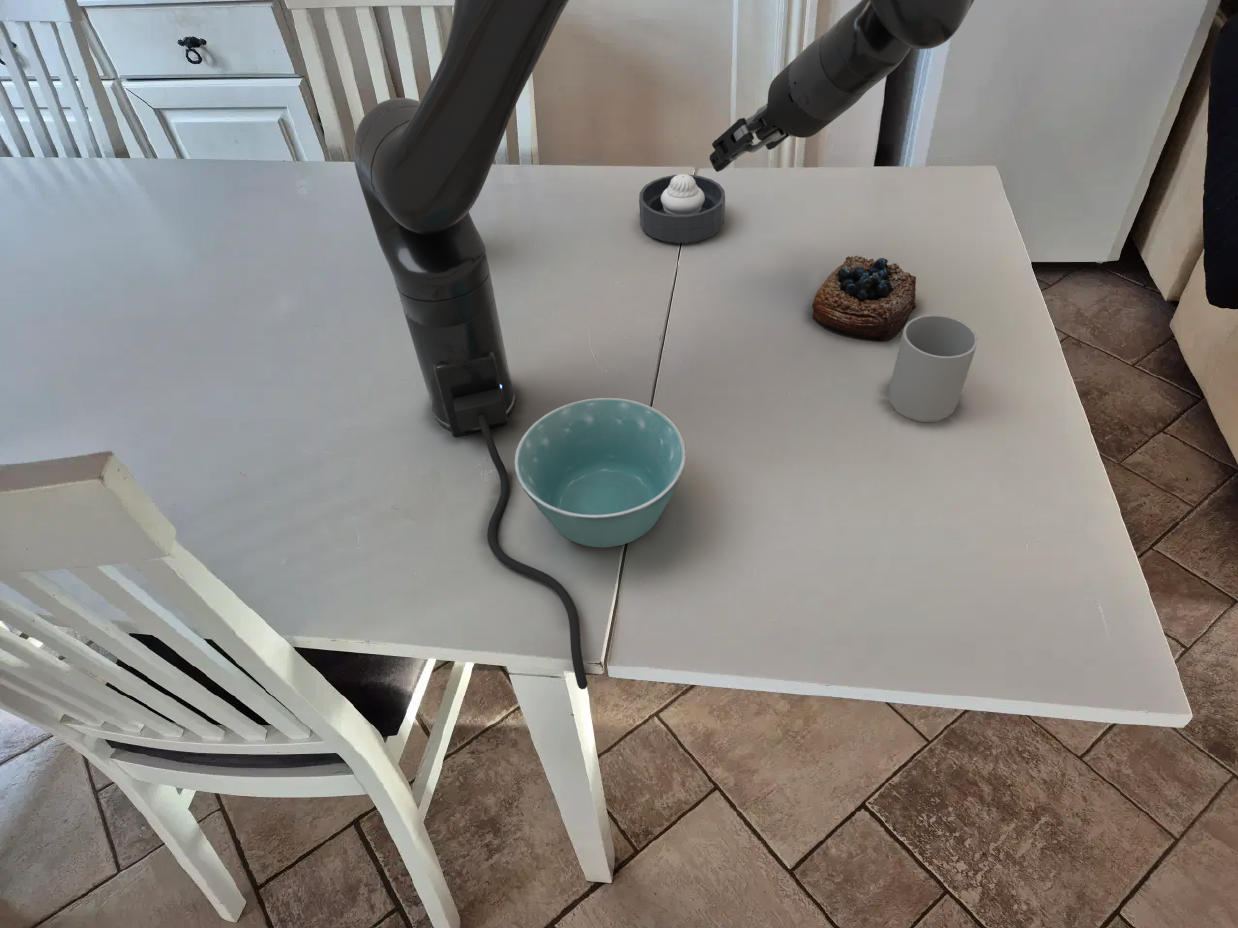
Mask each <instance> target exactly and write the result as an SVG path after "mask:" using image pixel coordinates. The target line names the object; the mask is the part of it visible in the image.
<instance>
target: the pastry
mask: <svg viewBox="0 0 1238 928" xmlns="http://www.w3.org/2000/svg"><path fill="white" fill-rule="evenodd" d="M888 263H889V260H888V258H885V257H879V258H877V259H876V260H874V259H873V258H869V259H868V258H866V257H863V256H858V255H855V256H853V255H852V256H846V257H845V261H844V262H843V264H841V265H840V266H838V267H837V268H836V269H835V270H834V271H832V272H831V274H829V276H828V277H827V278H826V279H825V280H824V282H823V283H822V284H821V286H820V287H819V289H818V290H817V292H816V293H815V295H814V298H813V302H812V306H811V308H812V310H813V311H812V313H811V315H812V320H814V322H815V323H816V324H817V325H819V326H820V327H821V328H823V329H825V330H826V331H829V332H831V333H833V334H835V335H838V336H842V337H845V338H848V339H849V338H850V339H853V340H859V341H868V342H877V343H878V342H880V343H884V342H885V343H886V342H889V341H891V340H892V339H894V338H895V337H896V336H897V335H898V334H899V333H900V332H902V331H903V329H904V327H905V326H906V324H907V323H908V320H909V318H910V316H911V314H912V313H913V312H914V310H915V309H916V308H917V306H918V305H917V303H916V292H917V288H916V286H917V285H916V284H917V276H915V275H912V274H911V273H910V272H907V271H905V272H904V270H903V269H902V268H901V267H900V265H899V264H897V262H896V263H891V264H888Z"/></svg>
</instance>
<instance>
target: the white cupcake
mask: <svg viewBox="0 0 1238 928" xmlns="http://www.w3.org/2000/svg"><path fill="white" fill-rule="evenodd" d="M676 175H677V176H674V178H672V179H671V182H670V185H669V186H668V188H667V189H665V190H664V192H663V193H662V195H661V202H662V204H663V207H664V210H665V212H666V214H671V215H691V214H696V213H699V212H700V210H701V208H702V205H703V203H704V201H705V196H704V193H703V191H702V190H701V189H700V188H699V187H698V186H697V185H696V182H695V180H694V178H693V177H692V176H690V175H691V174H686V173H680V174H676Z"/></svg>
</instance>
